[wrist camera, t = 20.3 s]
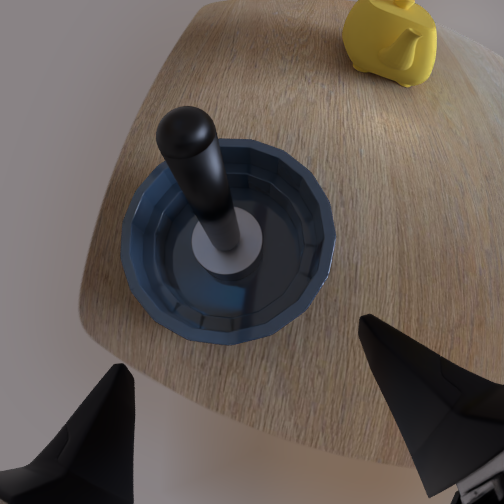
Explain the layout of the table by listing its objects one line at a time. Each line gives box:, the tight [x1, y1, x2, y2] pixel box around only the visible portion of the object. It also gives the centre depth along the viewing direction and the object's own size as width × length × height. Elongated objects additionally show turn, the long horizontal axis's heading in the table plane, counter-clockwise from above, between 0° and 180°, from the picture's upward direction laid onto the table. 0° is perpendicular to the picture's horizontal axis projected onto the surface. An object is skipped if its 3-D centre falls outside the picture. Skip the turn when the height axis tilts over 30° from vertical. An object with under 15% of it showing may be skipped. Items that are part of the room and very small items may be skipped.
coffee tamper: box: [156, 106, 263, 281], centre depth 13 cm, size 4×4×13 cm
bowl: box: [120, 138, 336, 346], centre depth 18 cm, size 12×13×5 cm
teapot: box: [342, 0, 436, 87], centre depth 21 cm, size 18×11×11 cm, turn 164°
